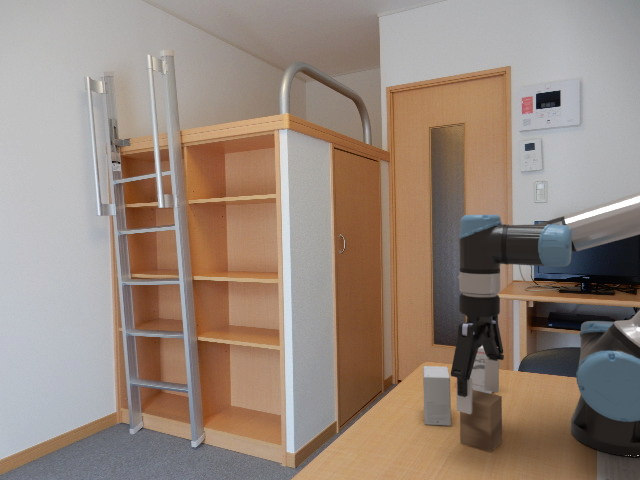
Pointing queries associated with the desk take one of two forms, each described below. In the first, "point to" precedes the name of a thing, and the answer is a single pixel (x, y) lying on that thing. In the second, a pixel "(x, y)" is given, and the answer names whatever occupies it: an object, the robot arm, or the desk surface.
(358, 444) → the desk surface
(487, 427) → the walnut block
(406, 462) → the desk surface
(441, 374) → the small box
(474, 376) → the ink box
